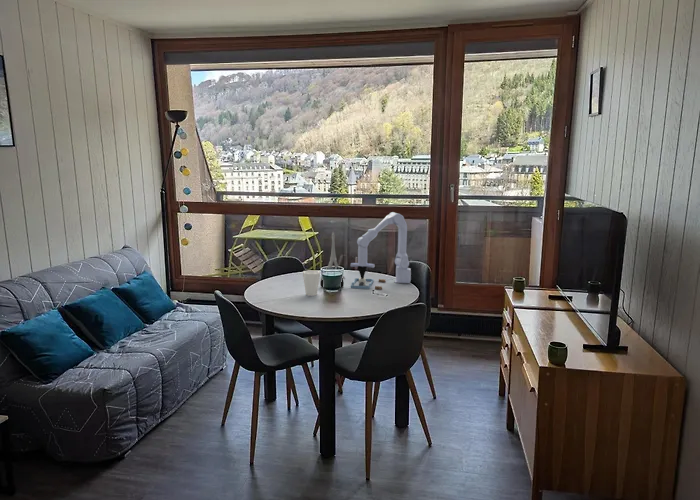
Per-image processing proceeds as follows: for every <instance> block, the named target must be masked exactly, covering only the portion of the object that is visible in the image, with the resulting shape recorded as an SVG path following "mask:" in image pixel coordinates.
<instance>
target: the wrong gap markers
mask: <svg viewBox="0 0 700 500" xmlns="http://www.w3.org/2000/svg"><path fill="white" fill-rule="evenodd" d="M378 283H386V279H384V278H383V279H382V278H379V279H378ZM374 290H380V291H382V290H383V286H382V285H380V286H379V285H375V286H374Z"/></svg>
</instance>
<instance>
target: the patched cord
mask: <svg viewBox="0 0 700 500" xmlns="http://www.w3.org/2000/svg"><path fill="white" fill-rule="evenodd" d="M366 279H367V277H364V279H361V277H359V281H358V286H367V281H366Z"/></svg>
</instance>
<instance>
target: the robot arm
mask: <svg viewBox="0 0 700 500" xmlns="http://www.w3.org/2000/svg"><path fill="white" fill-rule="evenodd" d="M388 225H395V226H397V228H398V229H397V230H398V232H397V233H398V234H397V236H398V237H397V238H398V239H397V253H396V254H395V258H394V264H395V280H394V283H395V284H396V283H399V284H411V280H412V276H411V275H412V270H411V269H412V268H410V267H409V266H410V261H409V256H408V253H407V242H408V240H407V239H408V224H407V222H406V220H405V217H404V215H402V214H401V213H397V212H394V211H392V212H389V214H387V215H386V216H385V217H384V218H383V219H382V220H381V221H380V222H379V223H378V224H377V225H376V226H375V227H374V228H369V229H367V232H365V233H364V234H361V235H362V236H359V237H358V238H357V240H356V243H357V248H358V249H357V262H351V263H350V267H351V268H353V267H354V268H357V269H358V272H359V276H360V278H361V279H364V278H365V274H366V272H367V269H368V268H372V269H374V268H375V263H369V262H368V246H369V245H370V242H371V241H373V240H374V239H375V238H376V237H377V236H378V233H379V232H380V231H382V230H383V229H385V228H386V227H387V226H388Z"/></svg>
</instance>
